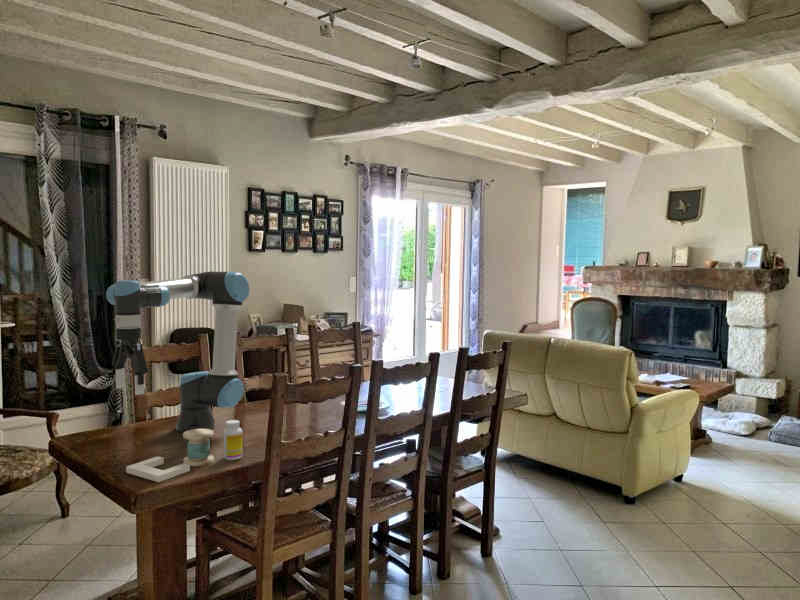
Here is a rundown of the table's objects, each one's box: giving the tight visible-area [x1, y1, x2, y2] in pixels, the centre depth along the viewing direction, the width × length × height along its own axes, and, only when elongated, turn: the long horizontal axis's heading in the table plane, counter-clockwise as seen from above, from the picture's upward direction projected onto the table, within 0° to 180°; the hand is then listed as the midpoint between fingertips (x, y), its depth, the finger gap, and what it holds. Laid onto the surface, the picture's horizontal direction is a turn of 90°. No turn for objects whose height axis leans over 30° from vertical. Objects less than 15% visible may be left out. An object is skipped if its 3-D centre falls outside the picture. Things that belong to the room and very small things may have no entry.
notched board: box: [125, 456, 191, 483], centre depth 194 cm, size 12×16×2 cm
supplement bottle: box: [222, 419, 244, 461], centre depth 209 cm, size 7×7×13 cm
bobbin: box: [182, 429, 215, 467], centre depth 205 cm, size 10×10×10 cm
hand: (130, 391), depth 197 cm, fingers open, 13 cm apart
